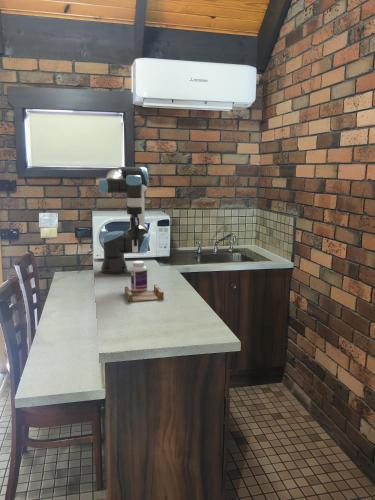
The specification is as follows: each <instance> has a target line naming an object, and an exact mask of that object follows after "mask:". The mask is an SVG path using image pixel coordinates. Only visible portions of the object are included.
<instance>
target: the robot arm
mask: <svg viewBox="0 0 375 500" xmlns="http://www.w3.org/2000/svg"><path fill="white" fill-rule="evenodd" d="M105 177H106V178H100V179H98V192H99V193H100V194H126V199H125V202H126V206H127V207H126V214H127V215H129V228H128V229H127V233H125V232H124V231H123V230H115V231H109V232H106V233H105V234H104V235H103V241H102V243H103V262H102V264H101V268H100V269H101V270H100V272H101V273H102V274H107V275H114V274H115V275H117V274H123V273H124V274H125V273H126V272H128V265H127V262H126V259H125V254H139V255H140V254H146V253H148V251H149V245H150V236H151V234H150V233H148V230H147V229H146V227H145V226H146V224H145V221H146V219H145V191H146V190H148V187H149V186H150V180H149V173H148V168H147V167H143V166H120V167H119V166H118V167H115V168H113V169H110V170H109V171H108V172H107V174H106V176H105Z"/></svg>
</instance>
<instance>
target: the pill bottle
mask: <svg viewBox="0 0 375 500" xmlns="http://www.w3.org/2000/svg"><path fill="white" fill-rule="evenodd" d="M132 265H133V266H131V267H130V284H131V285H130V288H131V290H132V292H140V291H148V290H147V289H148V267H147V266H146V265H145V261H143V260H134V261H132Z"/></svg>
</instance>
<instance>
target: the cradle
mask: <svg viewBox="0 0 375 500" xmlns="http://www.w3.org/2000/svg"><path fill="white" fill-rule="evenodd" d="M124 295H125V297H126V300H127V301H128V303H129V302H131V303H140V302H143V303H144V302H152V301H153V302H154V301H163V300H164V299H165V298H164V291H163V290H162V289H161V288H160V287H159V285H158V284H153V290H152V289H151V290H145V291H140V292H136V291H131V290H130V288H129V287H128V286H124Z"/></svg>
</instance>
